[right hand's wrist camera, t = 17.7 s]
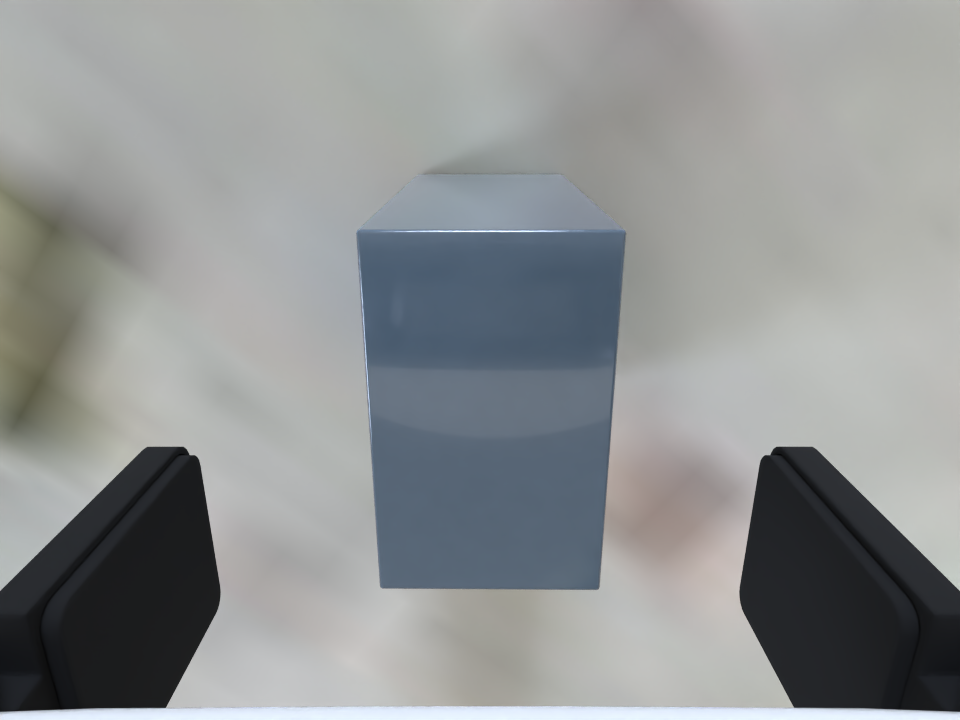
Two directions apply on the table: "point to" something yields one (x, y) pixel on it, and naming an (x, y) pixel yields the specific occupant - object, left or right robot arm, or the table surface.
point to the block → (490, 380)
